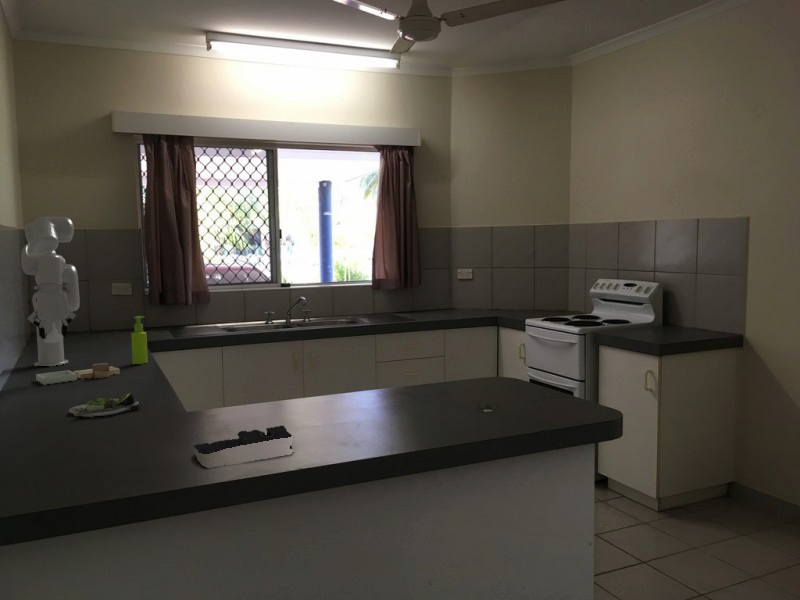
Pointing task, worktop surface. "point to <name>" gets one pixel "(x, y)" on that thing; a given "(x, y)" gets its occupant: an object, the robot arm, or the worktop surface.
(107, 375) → the block
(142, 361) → the soap dispenser
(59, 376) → the dish
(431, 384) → the worktop surface
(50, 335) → the garlic bulb
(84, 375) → the board
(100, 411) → the salad plate
